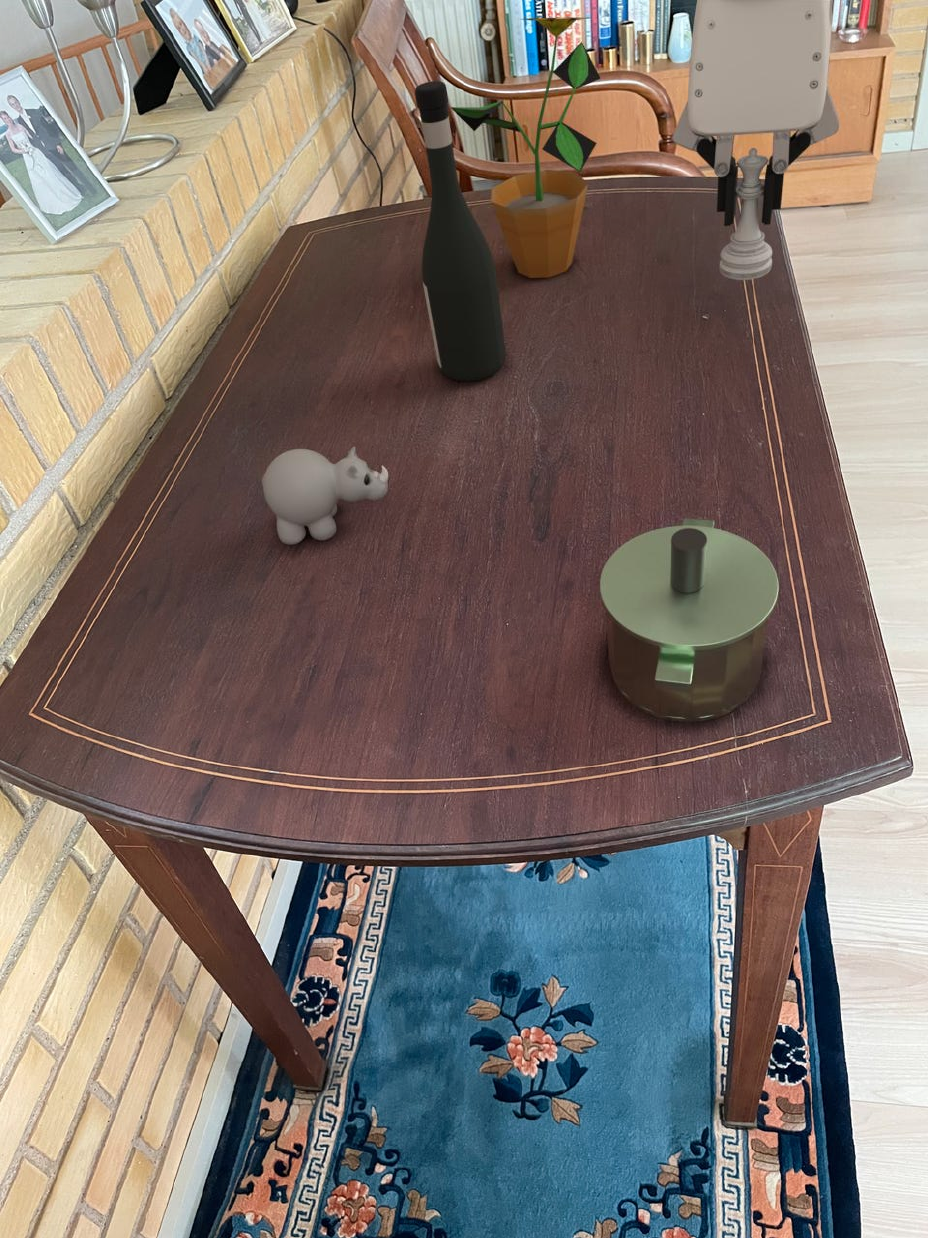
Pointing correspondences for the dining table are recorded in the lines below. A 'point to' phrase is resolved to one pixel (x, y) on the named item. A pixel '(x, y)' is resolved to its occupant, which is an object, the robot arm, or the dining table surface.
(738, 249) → the chess piece
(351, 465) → the toy rhinoceros
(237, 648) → the dining table surface
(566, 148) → the potted plant
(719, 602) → the pot lid
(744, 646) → the pot
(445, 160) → the wine bottle
